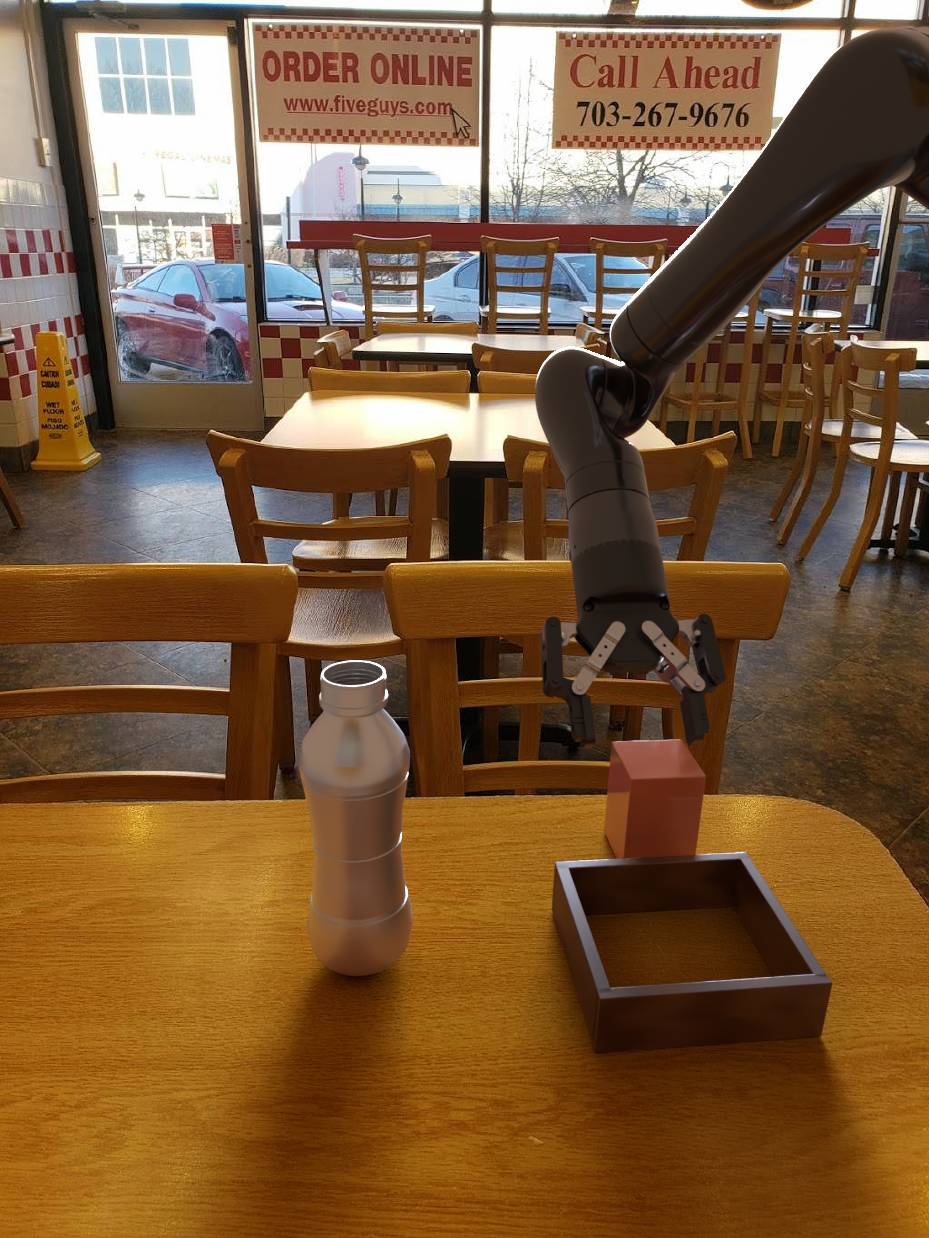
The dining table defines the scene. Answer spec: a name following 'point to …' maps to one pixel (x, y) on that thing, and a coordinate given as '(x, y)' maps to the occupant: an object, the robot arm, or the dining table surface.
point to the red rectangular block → (653, 799)
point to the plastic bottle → (356, 823)
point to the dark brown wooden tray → (697, 1007)
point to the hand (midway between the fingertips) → (642, 744)
